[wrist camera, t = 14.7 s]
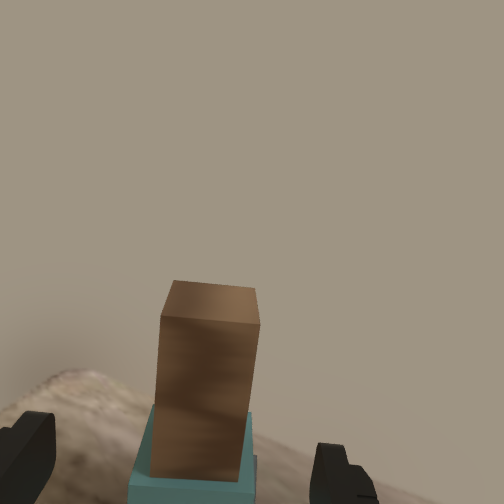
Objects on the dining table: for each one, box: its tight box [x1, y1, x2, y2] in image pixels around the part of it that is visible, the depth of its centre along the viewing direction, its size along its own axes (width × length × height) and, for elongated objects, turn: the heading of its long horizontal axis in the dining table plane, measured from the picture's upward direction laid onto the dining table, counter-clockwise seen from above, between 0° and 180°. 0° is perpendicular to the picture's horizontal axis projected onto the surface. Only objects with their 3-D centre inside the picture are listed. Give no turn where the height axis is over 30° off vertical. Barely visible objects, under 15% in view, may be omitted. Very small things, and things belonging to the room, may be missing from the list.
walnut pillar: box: [150, 280, 260, 482], centre depth 25 cm, size 5×5×10 cm
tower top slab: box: [127, 404, 255, 504], centre depth 27 cm, size 7×7×4 cm
